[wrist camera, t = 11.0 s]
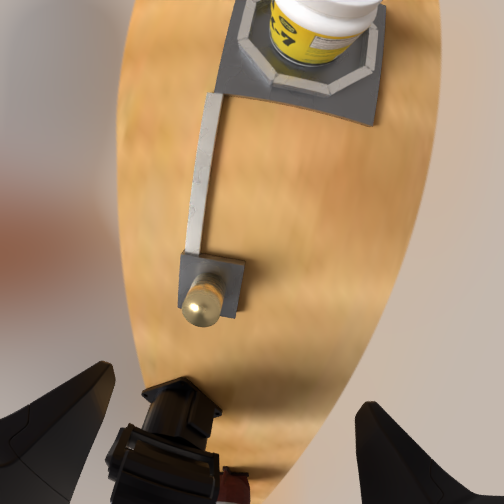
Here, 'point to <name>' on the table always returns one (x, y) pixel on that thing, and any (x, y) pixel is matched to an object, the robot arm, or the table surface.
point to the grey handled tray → (276, 91)
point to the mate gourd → (233, 488)
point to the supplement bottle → (318, 28)
